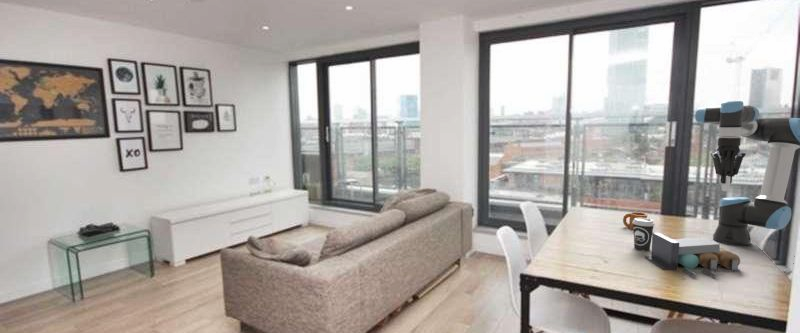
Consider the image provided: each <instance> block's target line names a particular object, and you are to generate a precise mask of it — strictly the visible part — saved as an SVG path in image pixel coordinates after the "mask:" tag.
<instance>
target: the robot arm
mask: <svg viewBox="0 0 800 333" xmlns="http://www.w3.org/2000/svg"><path fill="white" fill-rule="evenodd" d="M759 116H760V111H759V109H758V108H757V107H755V106H754V105H744V102H743V101H741V100H736V101H735V100H734V101H732V100H731V101H730V100H729V101H723V102H721V103H720V106H704V107H703V106H702V107H699V108H697V109H696V110H695V113H694V117H695V118H694V119H695V121H696V123H699V124H711V125H715V126H717V127H718V138H717V147H718V148H717V149H716V151H715V152H712V153H710V156H711V158H712V160H713V166H714V171H715V174H716V175H718V176H720V180H719V181H720V184H721V188H720V189H721V191H723V192H730V190H731V188H730V187H731V184H732V183H733V177H735V176H737V175H738V174H739V172H740V168H741V166H742V162H743V160H744V158H745V156H746V155H747V154H746V153H745V152H742V151H741V149H740V146H741V140H742V138H746V139H749V140H753V141H759V142H767V143H766V145H767V146H768V147H769V148H770V150H769V155H768V158H767V161H766V168H765V171H764V176H763V180H762V184H761V190H760V194H759V195H758V196H756V197H755V199H754V201H752V200H751V198H749V197H746V196H730V197H729V196H728V197H723V198H721V199H720V200H719V208H718V209H719V210H718V222H717V223H718V225H717V226H716V228H715V230H714V233H713V234H712V240H713V241H714V242H717V243H720V244H721V243H722V244H726V245H731V244H733V245H732V246H751V244H752V238H751V235H750V232H749V229H748V226H755V227H759V228H764V229H768V230H777V231H778V230H783V229H784V228H785V227H787V225H789V222H790V220H791V218H792V208H791V207H789V206H788V202H787V201H786V200H785V196H786V192H787V189H788V183H789V178H790V174H791V170H792V167H793V166H792V164H793V162H794V161H793V160H794V156H795V152H796V150H798V149H800V118H799V117H797V118H796V117H777V118H776V117H775V118H773V117H771V118H770V117H767V118H766V117H765V118H763V117H762V118H759ZM740 137H742V138H740Z"/></svg>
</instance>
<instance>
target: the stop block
mask: <svg viewBox="0 0 800 333" xmlns="http://www.w3.org/2000/svg"><path fill="white" fill-rule="evenodd" d="M673 239H674V238H671V237H669V236H667V235H665V234H663V233H660V232H652V239H651V255H644V257H643V258H644V259H646V260H647V261H649V262H650V263H652V264H653V265H655V266H656V267H658V268H659V269H661V270H662V271H665V270H666V271H678V268H679V263H678V257H679V242H677V241H675V240H673Z"/></svg>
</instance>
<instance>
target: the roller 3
mask: <svg viewBox="0 0 800 333" xmlns="http://www.w3.org/2000/svg"><path fill="white" fill-rule="evenodd" d="M711 253H713V254H715V255H716V256H717V257H718V259H719V263H718V265H719V266H722V267H725V269H730V259H738V260H739V263H738V266H740V264H741V258H740V256H739V255H737V254H735V253H733V252H731V251H730V250H729V251H728V250H727V249H724V248H722V247H720V252H711Z"/></svg>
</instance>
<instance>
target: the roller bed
mask: <svg viewBox="0 0 800 333" xmlns="http://www.w3.org/2000/svg"><path fill="white" fill-rule="evenodd" d="M738 263H739V260H738V259H730V269H728V268H718V267H717V266H718V265H717V259H709V269H708V268H705V267H704V266H702V270H701V271H702V273H703V274H705V275H707V276H709V277H710V278H712V279H717V273H716V272H741V269H739V265H738ZM697 267H698V265H697V266H696V267H695V268H697ZM682 272H683V273H685V274H686V275H687V276H689V277H691V278H692V279H697V273H696V272H695V271H692V270H691V269H689V268H686V267H685V266H683V267H682Z"/></svg>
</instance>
